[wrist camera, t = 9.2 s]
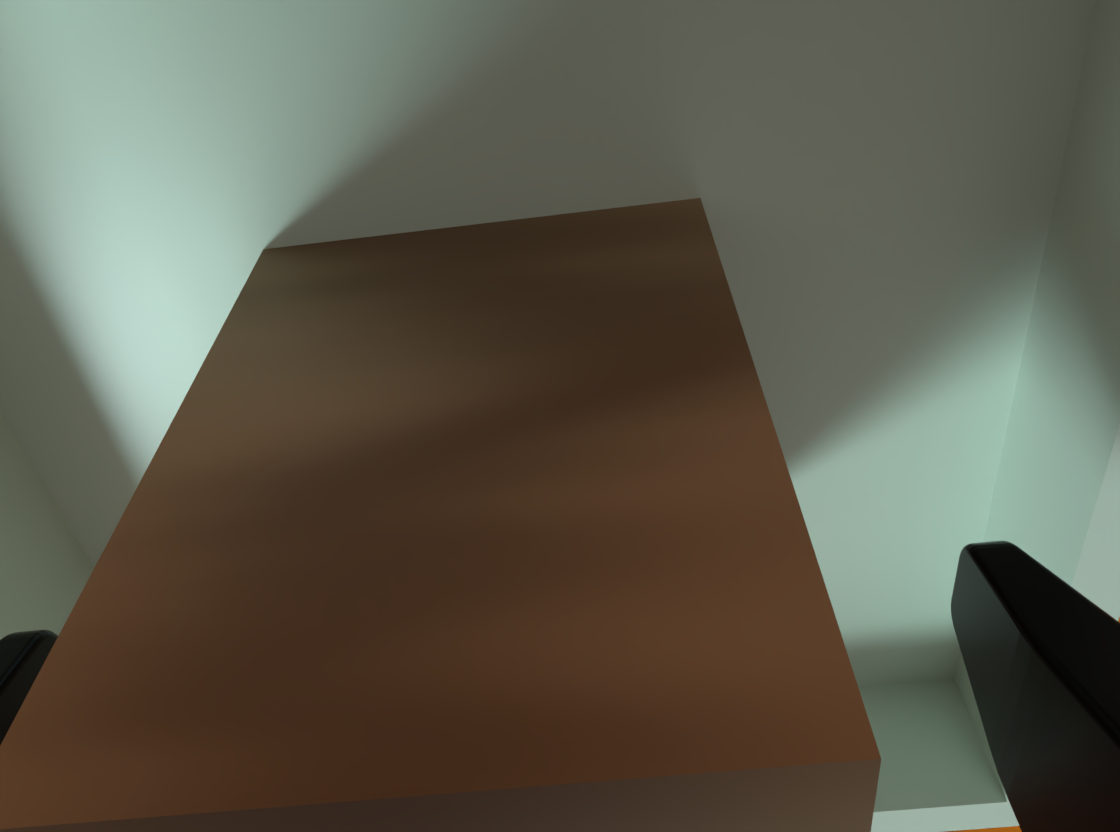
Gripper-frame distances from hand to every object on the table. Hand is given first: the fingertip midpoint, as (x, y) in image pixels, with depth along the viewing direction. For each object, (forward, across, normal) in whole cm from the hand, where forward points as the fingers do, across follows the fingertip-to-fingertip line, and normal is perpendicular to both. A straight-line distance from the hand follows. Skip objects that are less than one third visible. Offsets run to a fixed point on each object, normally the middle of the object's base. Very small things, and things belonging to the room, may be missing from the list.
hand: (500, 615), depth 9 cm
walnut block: (+4, 0, 0) cm, 4 cm away
